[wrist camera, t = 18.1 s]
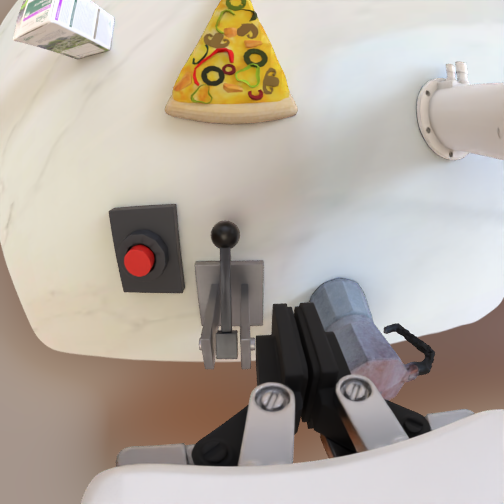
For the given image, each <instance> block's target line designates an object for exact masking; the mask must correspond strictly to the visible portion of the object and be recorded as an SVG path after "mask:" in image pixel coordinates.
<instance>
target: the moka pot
mask: <svg viewBox="0 0 504 504" xmlns="http://www.w3.org/2000/svg"><path fill="white" fill-rule="evenodd" d="M310 302H313V303H314V305H315V307H316V310H317V312H318V315H319V318H320V320H321V323H322V325H323V328H324V330H325V332H330V331H333V332H334V334H335V336H336V338H337V340H338V343H339V345H340V348H341V350H342V352H343V355H344V357H345V360H346V362H347V365H348V367H349V370H350V372H351V375H352V374H356V375H362V376H365V377H367V378H368V379H370V380H371V381H372V382H373V383H374V385H375V386H376V388H377V389H378V391H379V392H380V394H381V395H382V397H383V398H384V399H386V400H388V401H389V400H390V399H392V398H394V397H395V396H396V395H397V393H398V392H399V390H400V389H401V388H402V386H403V384H404V383H405V382H409V381H412V380H414V379H415V378H416V377H417V376H419V375H424V374H427V373H429V372H430V369H431V367H432V363H433V361H434V359H433V358H434V355H435V352H434V351H433V350H432V349H431V347H430V346H429V345H427V344H426V343H424V342H423V341H421V340H420V339H418V338H417V337H416V336H414V335H413V334H411V333H409V331H408V330H406V329H404V327H402V326H401V325H400V324H399V323H398V324H392V325H389V326H387V327H384V333H386V334H388V333H391V332H397V333H398V334H400V335H402V336H404V338H405V339H406V340H407V341H408V342H410V343H412V345H414V346H415V347H416V348H417V349H418V350H419V351H421V352H423V353H424V354H425V359H424V360H423V361H422V362H410V363H408V364H406V365H405V364H403V363H402V361H401V360H400V358H399V357H398V355H397V354H396V352H395V351H394V350H393V348H392V347H391V346H390V344H389V343H388V342H387V340H386V339H385V338H384V336H383V335H382V334H381V332H380V331H379V330H378V328H377V327H376V326H375V324H374V322H373V319H372V315H371V312H370V309H369V306H368V303H367V299H366V297H365V294H364V292H363V290H362V289H361V287H360V286H359V285H358V283H356V282H354V281H352V280H348V279H343V278H338V279H334V280H331V281H329V282H326V283H324V284H323V285H321V286H320V287H319V288H318V289H317V290H316V291H315V292H314V293H313V295H312V296H311V298H310Z"/></svg>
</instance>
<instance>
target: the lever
mask: <svg viewBox="0 0 504 504" xmlns="http://www.w3.org/2000/svg"><path fill="white" fill-rule="evenodd" d="M239 238H240V232H239V229H238V227H237V226H236V225H235V224H234V223H232V222H230V221H220V222H218V223H217V224H216V225H215V226H214V227H213V229H212V231H211V239H212V242H213V243H214V245H215V246H216V247H218V248H220V291H221V330H218V331H217V333H216V358H217V359H237V357H238V338H237V330H232V306H231V248H233V247H234V246H235V245H236V244H237V243H238V241H239Z"/></svg>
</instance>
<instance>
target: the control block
mask: <svg viewBox="0 0 504 504" xmlns="http://www.w3.org/2000/svg"><path fill="white" fill-rule="evenodd" d="M109 217H110V223H111V230H112V236H113V242H114V247H115V252H116V258H117V263H118V267H119V272H120V277H121V281H122V286H123V290H124V292H142V293H183V290H184V288H185V286H184V278H183V270H182V261H181V253H180V243H179V233H178V223H177V211H176V204H166V205H149V206H134V207H121V208H113V209H112V210H110V211H109ZM135 245H144V246H147V247H148V248H149V249H150V250H151V251H152V252H153V254H154V258H155V262H154V265H153V267H152V268H151V270H150V271H149V273H148V274H146V275H145V276H141V277H138V276H134V275H132V274H131V273H130V272H129V271H128V270H127V269H126V267H125V264H124V258H125V255H126V254H127V253H128V251H129V250H130V249H131V248H132V247H133V246H135Z"/></svg>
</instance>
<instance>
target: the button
mask: <svg viewBox="0 0 504 504" xmlns="http://www.w3.org/2000/svg"><path fill="white" fill-rule="evenodd" d="M154 262H155V258H154V254H153V252H152V251H151V250H150V249H149V248H148V247H147V246H144V245H135V246H133V247H132V248H131V249H130V250H129V251H128V253H127V254H126V255H125V258H124V264H125V267H126V269H127V270H128V271H129V272H130V273H131V274H132V275H134V276H138V277H141V276H145V275H146V274H148V273H149V271H150V270H151V268H152V267H153V265H154Z"/></svg>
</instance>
